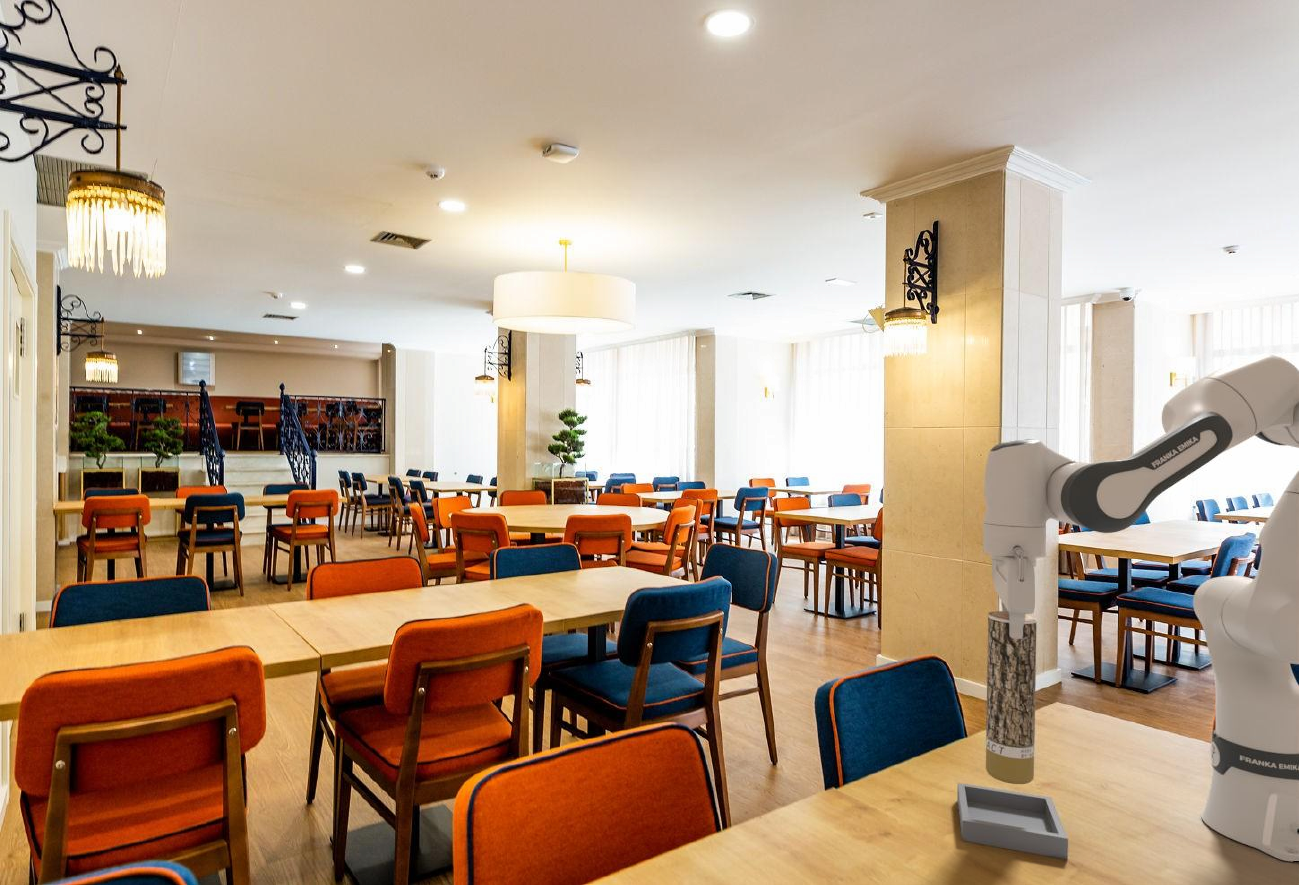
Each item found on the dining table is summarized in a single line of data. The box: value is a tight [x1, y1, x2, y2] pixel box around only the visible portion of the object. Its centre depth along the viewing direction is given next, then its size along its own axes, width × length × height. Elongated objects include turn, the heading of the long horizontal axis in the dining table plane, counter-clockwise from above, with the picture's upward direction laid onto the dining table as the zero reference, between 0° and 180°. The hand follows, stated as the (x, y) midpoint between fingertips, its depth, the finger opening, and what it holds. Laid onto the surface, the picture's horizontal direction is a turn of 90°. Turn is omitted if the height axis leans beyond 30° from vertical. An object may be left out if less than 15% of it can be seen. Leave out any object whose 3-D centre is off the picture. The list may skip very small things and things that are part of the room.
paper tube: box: [985, 610, 1037, 785], centre depth 117 cm, size 7×7×25 cm
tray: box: [956, 782, 1069, 861], centre depth 117 cm, size 14×14×3 cm
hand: (1012, 631), depth 117 cm, fingers closed on paper tube, 7 cm apart
